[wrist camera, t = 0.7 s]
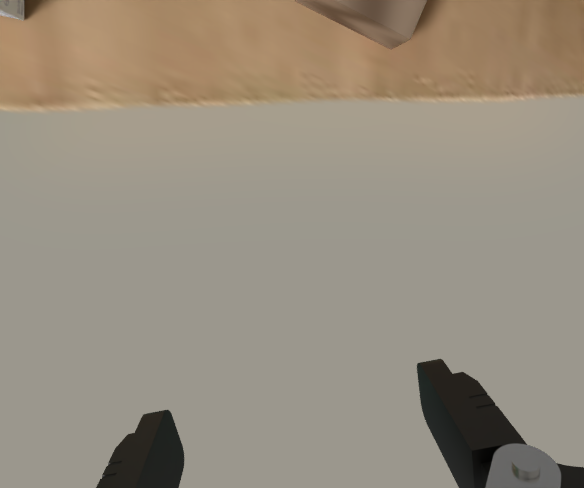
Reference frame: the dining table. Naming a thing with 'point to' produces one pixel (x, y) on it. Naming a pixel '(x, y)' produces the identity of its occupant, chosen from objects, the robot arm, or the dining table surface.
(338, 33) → the dining table surface
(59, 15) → the dining table surface
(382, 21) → the walnut plinth
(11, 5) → the medicine box
